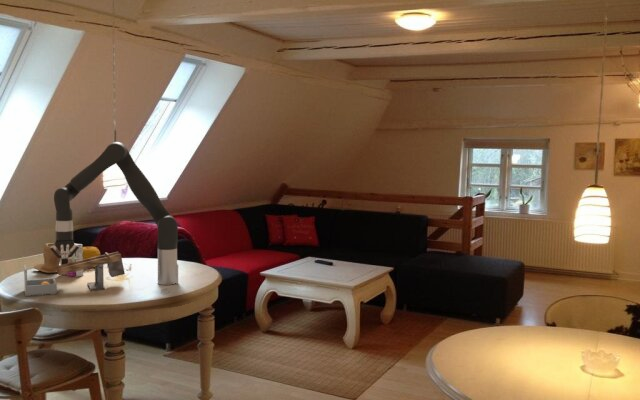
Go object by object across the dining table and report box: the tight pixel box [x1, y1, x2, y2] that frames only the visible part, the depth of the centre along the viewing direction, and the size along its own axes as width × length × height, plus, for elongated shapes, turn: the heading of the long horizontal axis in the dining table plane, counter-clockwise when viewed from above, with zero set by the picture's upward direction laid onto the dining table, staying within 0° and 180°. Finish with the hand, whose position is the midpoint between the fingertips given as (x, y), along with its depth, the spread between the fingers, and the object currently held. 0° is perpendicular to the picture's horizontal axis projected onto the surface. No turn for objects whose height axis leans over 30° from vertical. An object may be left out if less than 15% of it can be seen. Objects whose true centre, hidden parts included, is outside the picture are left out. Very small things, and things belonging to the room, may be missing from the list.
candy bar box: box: [60, 242, 84, 278], centre depth 299 cm, size 11×5×16 cm, turn 65°
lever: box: [56, 251, 126, 278], centre depth 278 cm, size 28×14×11 cm, turn 119°
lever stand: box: [87, 263, 106, 292], centre depth 276 cm, size 6×13×12 cm, turn 29°
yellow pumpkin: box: [83, 246, 101, 269], centre depth 320 cm, size 13×13×11 cm
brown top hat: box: [32, 242, 61, 274], centre depth 307 cm, size 15×12×15 cm
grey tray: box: [23, 264, 58, 297], centre depth 265 cm, size 13×13×12 cm
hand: (64, 266), depth 276 cm, fingers closed
